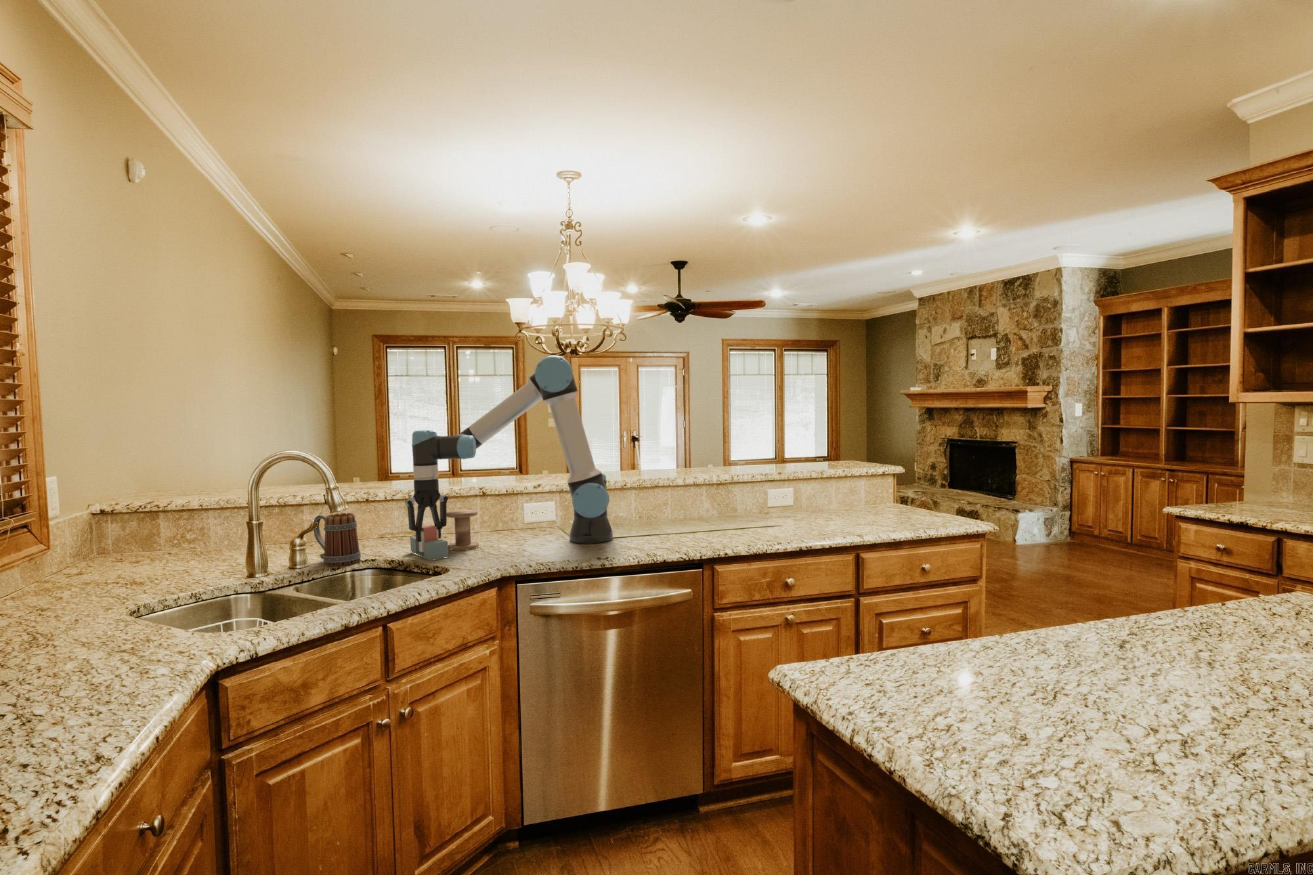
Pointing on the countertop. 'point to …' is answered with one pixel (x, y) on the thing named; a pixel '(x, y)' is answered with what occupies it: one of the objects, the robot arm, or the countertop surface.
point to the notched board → (430, 548)
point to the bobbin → (462, 530)
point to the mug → (338, 539)
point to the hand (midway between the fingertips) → (429, 550)
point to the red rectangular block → (429, 533)
